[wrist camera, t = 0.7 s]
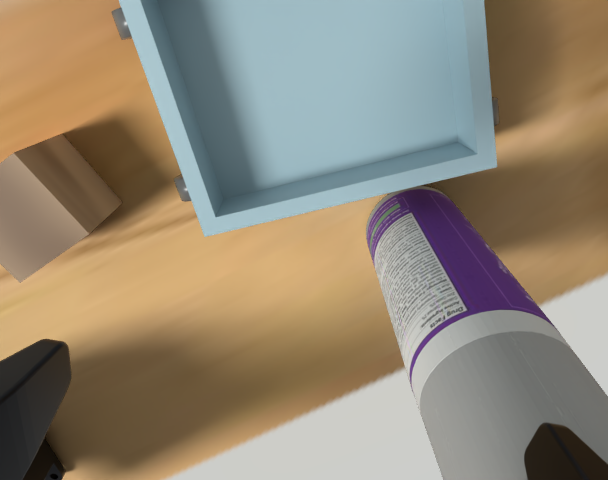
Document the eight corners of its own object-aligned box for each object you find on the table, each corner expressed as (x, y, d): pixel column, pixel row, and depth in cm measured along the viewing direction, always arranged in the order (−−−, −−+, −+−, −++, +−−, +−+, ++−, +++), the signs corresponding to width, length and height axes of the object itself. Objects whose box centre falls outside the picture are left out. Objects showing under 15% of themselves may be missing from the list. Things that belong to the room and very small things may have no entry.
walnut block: (63, 244, 23) (20, 282, 20) (2, 180, 22) (-58, 209, 18) (123, 202, 22) (89, 234, 19) (62, 133, 21) (13, 152, 17)
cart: (192, 212, 22) (173, 244, 19) (109, -13, 19) (67, -25, 15) (493, 139, 21) (532, 158, 18) (472, -118, 17) (517, -157, 14)
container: (479, 215, 23) (743, 512, 9) (419, 283, 24) (571, 618, 11) (403, 167, 22) (582, 429, 8) (347, 243, 23) (418, 562, 10)
